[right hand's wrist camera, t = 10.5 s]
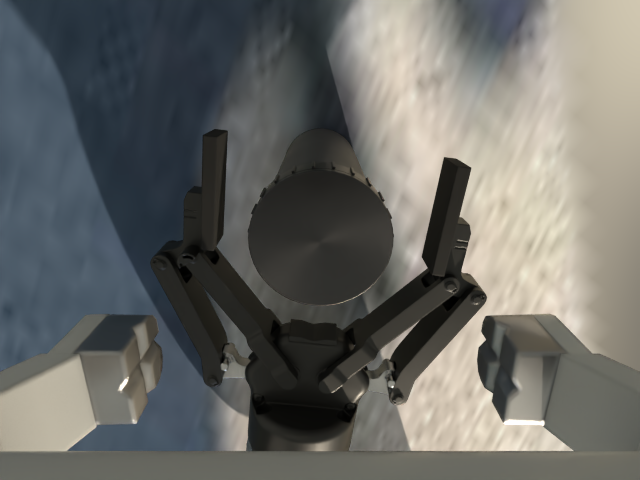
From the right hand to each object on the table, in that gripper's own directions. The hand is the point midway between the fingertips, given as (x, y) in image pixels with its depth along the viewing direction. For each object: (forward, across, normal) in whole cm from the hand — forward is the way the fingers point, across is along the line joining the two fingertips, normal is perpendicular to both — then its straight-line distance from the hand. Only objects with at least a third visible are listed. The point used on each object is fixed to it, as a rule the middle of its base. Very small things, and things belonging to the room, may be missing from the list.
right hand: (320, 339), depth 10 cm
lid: (+7, 0, 0) cm, 7 cm away
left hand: (+15, -1, -2) cm, 16 cm away
